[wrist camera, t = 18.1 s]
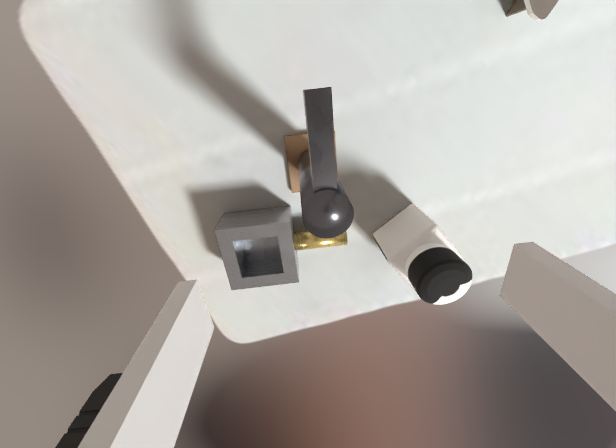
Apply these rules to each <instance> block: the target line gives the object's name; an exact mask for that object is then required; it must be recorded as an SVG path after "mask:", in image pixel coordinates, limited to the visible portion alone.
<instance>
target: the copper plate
mask: <svg viewBox="0 0 616 448" xmlns="http://www.w3.org/2000/svg"><path fill="white" fill-rule="evenodd" d="M284 138H285V145H286V153H287V160H288V167H289V175H290V182H291V189H292V193H295V192H300V184H299V172H298V159H299V156H300V155H301V153H302V152H303V151H305V150H307V149H309V146H308V136H307V134H299V135H291V136H284ZM334 142H335V131H334ZM335 160H336V144H335ZM336 177H337V163H336Z"/></svg>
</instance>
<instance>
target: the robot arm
mask: <svg viewBox="0 0 616 448" xmlns="http://www.w3.org/2000/svg"><path fill="white" fill-rule="evenodd" d="M499 296H500V297H501V298H502V299H503V300H504V301H505V302H506V303H507V304H508V305H509V306H510V307H511V308H512V309H513V310H514V311H515V312H516V313H517V314H519V316H521V317H522V319H523V320H524V321H525V322H526V323H527V324H528V325H529V326H530V327H531V328H533V329H534V330H535V331H536V332H537V333H538V334H539V335H540V336H541V337H542V338H543V339H544V340H545V341H546V342H547V343H548V344H549V345H550V346H551V347H552V348H553V349H554V350H555V351H556V352H557V353H558V354H559V355H560V356H561V357H562V358H563V359H564V360H565V361H566V362H567V363H568V364H569V365H570V366H571V367H572V368H573V369H574V370H575V371H576V372H577V373H578V374H579V375H580V376H581V377H582V378H583V379H584V380H585V381H586V382H587V383H588V384H589V385H590V386H591V387H592V388H593V389H594V390H595V391H596V392H597V393H598V394H599V395H600V396H601V397H602V398H603V399H604V400H605V401H606V402H607V403H608V404H609V405H610V406H611V407H612V408H613V409H614V410H615V411H616V294H615V293H613V292H612V291H610V290H608V289H607V288H605V287H604V286H602V285H600V284H599V283H597V282H596V281H594V280H592V279H591V278H589V277H588V276H586V275H584V274H583V273H581V272H580V271H578V270H576V269H575V268H573V267H572V266H570V265H569V264H567V263H565V262H564V261H562V260H561V259H559V258H557V257H556V256H554V255H553V254H551V253H549V252H548V251H546V250H545V249H543V248H542V247H540V246H538V245H537V244H535V243H534V242H528V243H519V244H514V247H513V250H512V254H511V257H510V261H509V264H508V267H507V271H506V274H505V278H504V282H503V285H502V288H501V292H500V295H499ZM213 329H214V326H213V323H212V320H211V317H210V314H209V312H208V309H207V306H206V303H205V301H204V298H203V295H202V292H201V290H200V287H199V284H198V281H197V280H190V281H181V282H178V283H177V285H176V287H175V288H174V290H173V292H172V293H171V295H170V296H169V298H168V300H167V302H166V303H165V305H164V306H163V308H162V310H161V311H160V313H159V315H158V316H157V318H156V320H155V321H154V323H153V324H152V326H151V328H150V329H149V331H148V333H147V334H146V336H145V338H144V339H143V341H142V343H141V344H140V346H139V348H138V349H137V351H136V352H135V354H134V356H133V357H132V359H131V361H130V362H129V364H128V366H127V367H126V369H125V371H124V372H123V373H118V374H111V375H109V376H108V377H107V379H105V381H103V382H102V383H101V384H100V385H99V386H98V387H97V388H96V389H95V390H94V391H93V392H92V394H91V395H90V397H89V398H88V400H87V401H86V403H85V404H84V406H83V407H82V409H81V410H80V413H79V416H76V418H75V419H74V421H73V422H72V424H71V425H70V427H69V428H68V432H67V433H66V434H64V436H63V437H62V439H61V440H60V442H59V443H58V445H57V446H56V448H174V445H175V442H176V439H177V436H178V433H179V430H180V427H181V424H182V421H183V418H184V415H185V412H186V410H187V407H188V403H189V401H190V398H191V395H192V391H193V389H194V386H195V383H196V380H197V377H198V374H199V371H200V368H201V365H202V362H203V359H204V356H205V353H206V350H207V347H208V344H209V341H210V339H211V335H212V333H213Z"/></svg>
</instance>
